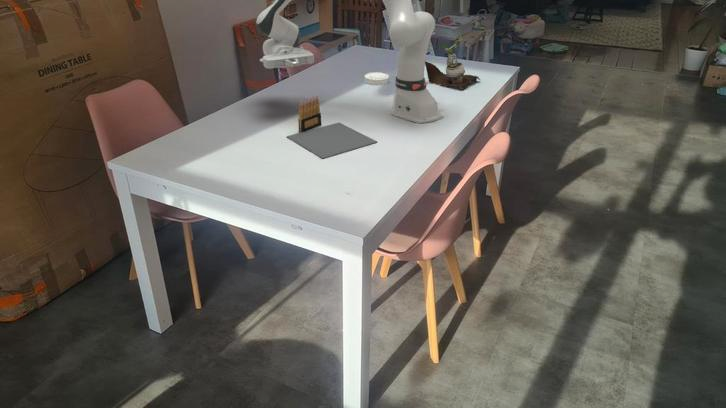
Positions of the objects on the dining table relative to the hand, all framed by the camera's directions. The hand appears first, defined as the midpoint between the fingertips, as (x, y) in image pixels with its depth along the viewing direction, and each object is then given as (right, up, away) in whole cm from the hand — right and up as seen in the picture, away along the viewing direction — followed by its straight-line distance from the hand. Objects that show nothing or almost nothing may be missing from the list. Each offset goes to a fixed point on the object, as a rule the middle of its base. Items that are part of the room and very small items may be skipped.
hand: (295, 64), depth 203 cm
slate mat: (+14, -30, -9) cm, 34 cm away
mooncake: (+33, +6, +55) cm, 64 cm away
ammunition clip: (+6, -24, +1) cm, 25 cm away
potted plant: (+70, +5, +55) cm, 89 cm away
